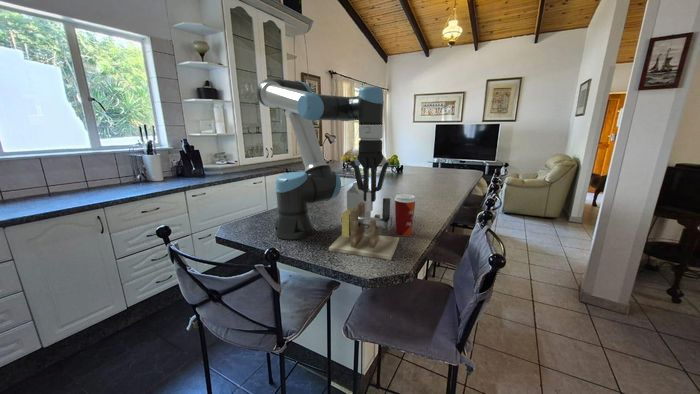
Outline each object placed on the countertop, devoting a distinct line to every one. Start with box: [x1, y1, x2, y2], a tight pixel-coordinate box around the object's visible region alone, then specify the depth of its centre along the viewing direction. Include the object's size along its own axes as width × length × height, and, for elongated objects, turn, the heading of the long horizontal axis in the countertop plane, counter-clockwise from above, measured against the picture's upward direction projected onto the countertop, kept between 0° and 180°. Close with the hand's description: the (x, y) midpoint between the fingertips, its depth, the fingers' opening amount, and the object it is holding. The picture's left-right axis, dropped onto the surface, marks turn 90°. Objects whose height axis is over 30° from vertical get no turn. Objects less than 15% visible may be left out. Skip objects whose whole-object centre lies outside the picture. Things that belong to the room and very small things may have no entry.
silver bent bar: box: [340, 197, 393, 231], centre depth 93 cm, size 17×4×11 cm, turn 71°
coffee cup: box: [393, 193, 417, 237], centre depth 106 cm, size 8×8×15 cm
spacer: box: [341, 208, 354, 237], centre depth 96 cm, size 2×8×8 cm, turn 161°
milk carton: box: [346, 180, 372, 229], centre depth 113 cm, size 7×7×19 cm
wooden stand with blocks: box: [328, 202, 400, 261], centre depth 95 cm, size 21×16×14 cm
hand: (369, 210), depth 93 cm, fingers closed
